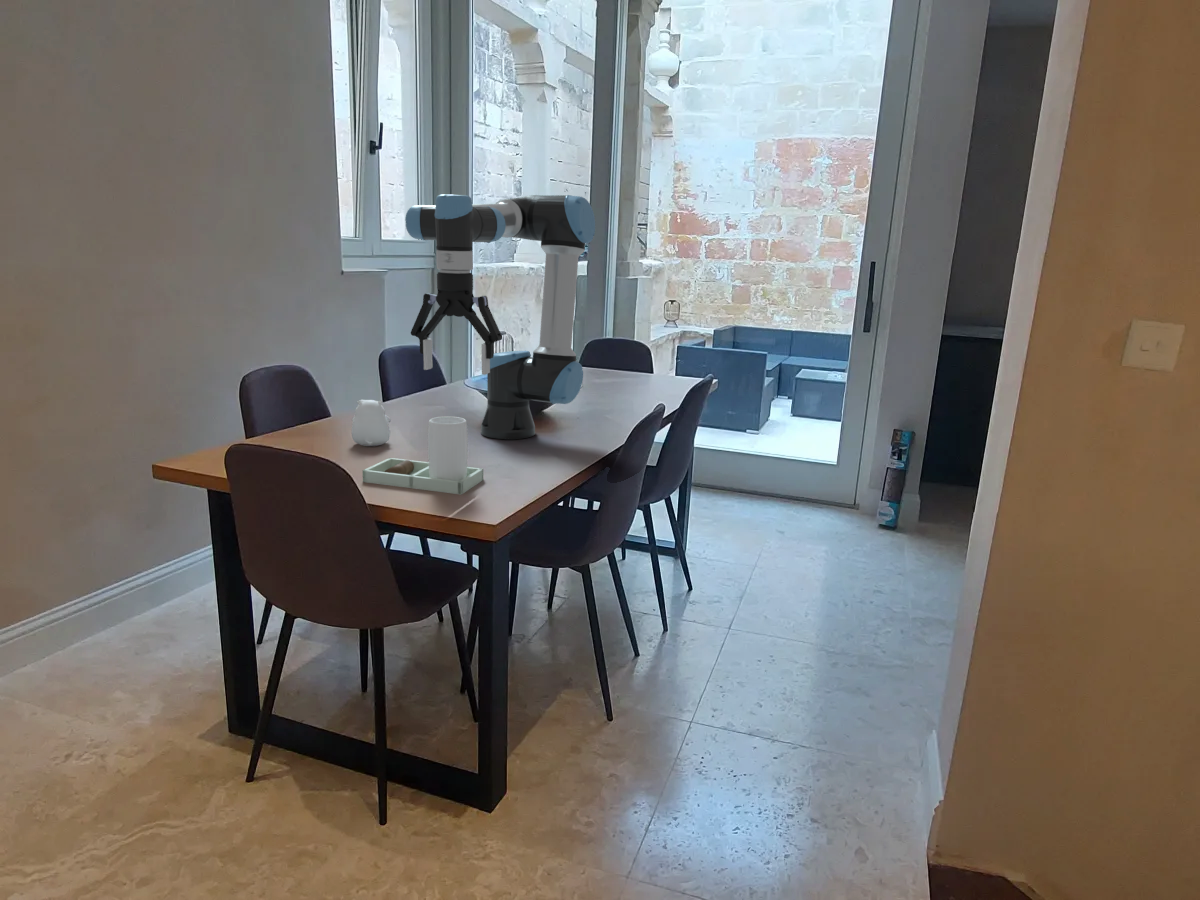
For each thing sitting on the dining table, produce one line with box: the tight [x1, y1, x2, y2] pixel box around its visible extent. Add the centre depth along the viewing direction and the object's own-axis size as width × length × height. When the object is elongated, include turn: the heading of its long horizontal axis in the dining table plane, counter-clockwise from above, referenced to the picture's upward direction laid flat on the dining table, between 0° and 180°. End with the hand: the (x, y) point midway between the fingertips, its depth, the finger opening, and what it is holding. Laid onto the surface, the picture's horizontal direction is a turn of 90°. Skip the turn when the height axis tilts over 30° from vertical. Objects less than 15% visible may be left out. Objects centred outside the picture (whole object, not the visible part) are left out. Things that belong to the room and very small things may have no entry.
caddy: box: [362, 457, 484, 495], centre depth 173 cm, size 12×23×3 cm, turn 75°
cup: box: [427, 415, 469, 481], centre depth 170 cm, size 8×8×14 cm
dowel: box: [385, 459, 414, 475], centre depth 175 cm, size 8×3×3 cm, turn 165°
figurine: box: [351, 399, 392, 447], centre depth 201 cm, size 10×10×12 cm
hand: (456, 371), depth 172 cm, fingers open, 13 cm apart
